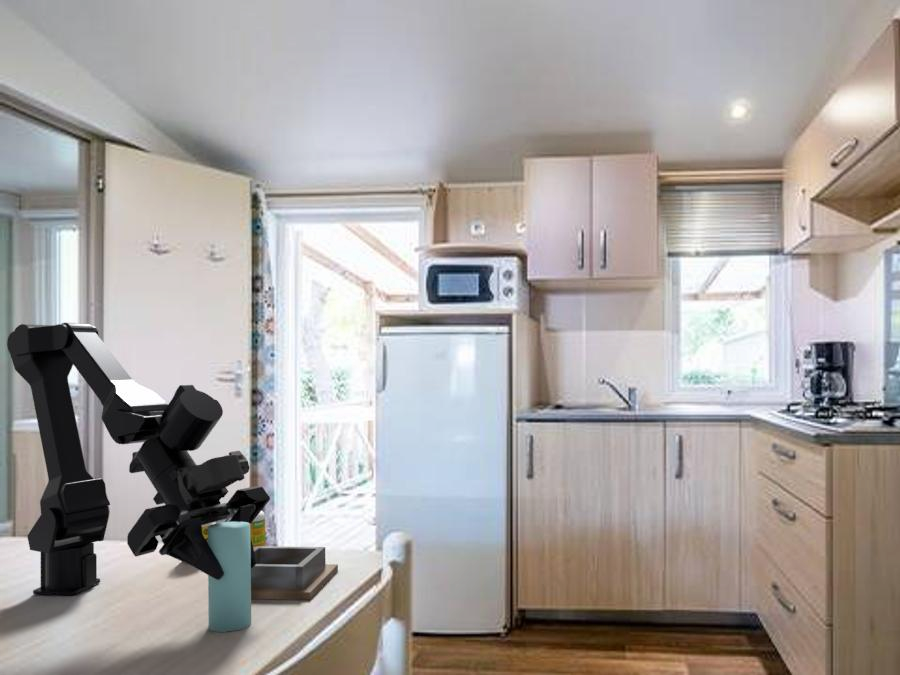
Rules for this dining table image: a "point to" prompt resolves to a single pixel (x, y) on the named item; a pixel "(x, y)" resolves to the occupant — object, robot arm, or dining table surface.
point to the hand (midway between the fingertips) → (237, 571)
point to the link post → (230, 577)
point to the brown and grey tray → (289, 572)
